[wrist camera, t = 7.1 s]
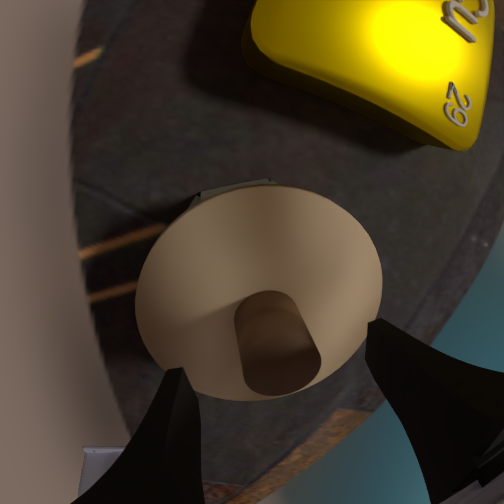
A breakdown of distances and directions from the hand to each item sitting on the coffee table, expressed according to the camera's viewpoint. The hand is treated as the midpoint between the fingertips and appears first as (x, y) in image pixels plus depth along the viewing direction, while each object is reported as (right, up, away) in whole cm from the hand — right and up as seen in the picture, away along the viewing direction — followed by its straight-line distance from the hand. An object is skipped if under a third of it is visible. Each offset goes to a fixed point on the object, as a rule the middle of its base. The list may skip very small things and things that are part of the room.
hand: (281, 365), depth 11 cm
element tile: (+7, +20, +3) cm, 21 cm away
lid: (-1, +2, +4) cm, 4 cm away
